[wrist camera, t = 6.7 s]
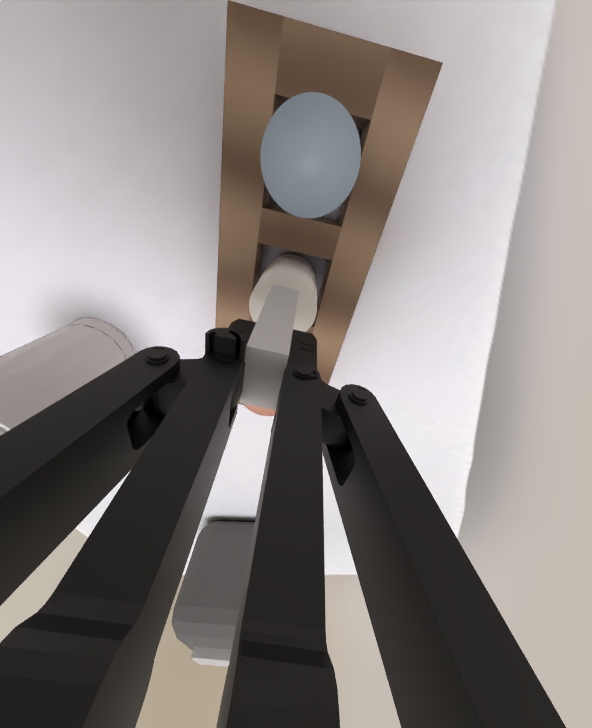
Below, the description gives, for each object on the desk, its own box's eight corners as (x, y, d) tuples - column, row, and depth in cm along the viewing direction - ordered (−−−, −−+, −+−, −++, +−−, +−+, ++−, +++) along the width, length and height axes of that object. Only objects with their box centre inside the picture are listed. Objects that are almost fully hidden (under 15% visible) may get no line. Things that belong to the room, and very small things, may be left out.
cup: (94, 294, 23) (-70, 377, 13) (159, 363, 27) (69, 467, 17) (41, 330, 26) (-131, 423, 16) (107, 388, 29) (2, 493, 20)
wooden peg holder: (243, 32, 14) (227, 0, 12) (421, 82, 15) (442, 62, 12) (222, 379, 28) (212, 398, 25) (315, 398, 28) (315, 418, 26)
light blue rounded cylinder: (282, 109, 14) (268, 78, 9) (358, 130, 14) (376, 107, 10) (271, 200, 16) (254, 206, 12) (336, 216, 16) (343, 228, 12)
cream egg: (267, 248, 19) (252, 267, 14) (322, 261, 19) (324, 283, 15) (259, 302, 21) (245, 331, 17) (309, 313, 21) (308, 344, 17)
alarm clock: (215, 544, 51) (181, 667, 38) (199, 513, 44) (151, 648, 31) (301, 547, 49) (295, 677, 36) (297, 516, 43) (289, 660, 30)
